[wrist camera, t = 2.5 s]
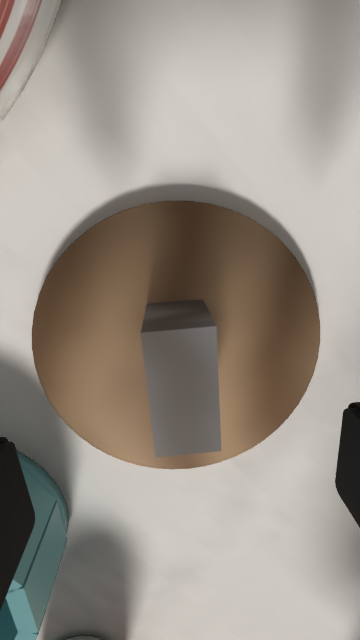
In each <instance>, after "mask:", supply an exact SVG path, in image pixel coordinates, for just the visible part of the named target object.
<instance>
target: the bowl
mask: <svg viewBox="0 0 360 640" xmlns="http://www.w3.org/2000/svg"><path fill="white" fill-rule="evenodd" d="M16 452H17V451H16ZM17 455H18V458H19V461H20V465H21V468H22V471H23V475H24V478H25V481H26V485H27V488H28V491H29V495H30V498H31V501H32V505H33V508H34V511H35V524H34V528H33V531H32V533H31V536H30V538H29V541H28V543H27V545H26V548H25V550H24V553H23V555H22V558H21V560H20V563H19V565H18V568H17V570H16V573H15V575H14V578H13V580H12V583H11V585H10V588H9V590H8V593H7V595H6V598H5V600H4V603H3V605H2V608H1V610H0V640H36V638H37V636H38V633H39V630H40V627H41V624H42V620H43V617H44V614H45V610H46V607H47V604H48V601H49V597H50V594H51V591H52V587H53V584H54V581H55V578H56V574H57V571H58V568H59V564H60V561H61V558H62V555H63V551H64V548H65V545H66V540H67V538H66V533H67V528H68V512H67V506H66V503H65V500H64V497H63V495H62V494H61V492H60V490H59V488H58V486H57V485H56V484H55V482H54V481H53V479H52V478H51V477H50V476H49V475H48V474H47V473H46V472H45V471H44V470H43V469H42V468H41V467H40V466H39V465H37V464H36V463H35V462H34V461H32V460H31V459H29V458H28V457H26V456H25V455H23V454H21V453H19V452H17Z"/></svg>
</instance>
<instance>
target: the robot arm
mask: <svg viewBox="0 0 360 640" xmlns="http://www.w3.org/2000/svg"><path fill="white" fill-rule="evenodd" d="M335 483H336V488H337V491H338V493H339V495H340V497H341V499H342V500H343V502H344V503H345V505H346V507H347V508H348V510H349V511H350V513H351V514H352V516H353V518H354V519H355V521H356V522H357V524H358V525H359V527H360V402H355V403H351V404H350V405H349V406H348V409H345V410H344V412H343V419H342V427H341V436H340V445H339V453H338V462H337V471H336V479H335ZM34 524H35V511H34V508H33V505H32V501H31V498H30V495H29V491H28V488H27V485H26V481H25V478H24V475H23V471H22V468H21V465H20V461H19V458H18V455H17V452H16V448H15V445H14V443H13V442H9V441H8V439H7V438H5V437H0V610H1V608H2V605H3V603H4V600H5V598H6V595H7V593H8V590H9V588H10V585H11V583H12V580H13V578H14V575H15V573H16V570H17V568H18V565H19V563H20V560H21V558H22V555H23V553H24V550H25V548H26V545H27V543H28V541H29V538H30V536H31V533H32V531H33V528H34Z"/></svg>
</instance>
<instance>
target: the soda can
mask: <svg viewBox="0 0 360 640" xmlns="http://www.w3.org/2000/svg"><path fill="white" fill-rule="evenodd" d="M66 640H102V639H100V638H97V637H92V636H75V637H71V638H68V639H66Z"/></svg>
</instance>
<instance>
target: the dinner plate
mask: <svg viewBox="0 0 360 640" xmlns="http://www.w3.org/2000/svg"><path fill="white" fill-rule="evenodd" d="M61 1H62V0H0V122H1V121H2V120H3V119H4V117H5V116H6V115H7V114H8V112H9V111H10V109H11V107H12V106H13V104H14V103H15V101H16V100H17V98H18V97H19V95H20V94H21V92H22V91H23V89H24V87H25V86H26V84H27V82H28V80H29V78H30V76H31V74H32V72H33V70H34V69H35V67H36V64H37V62H38V60H39V58H40V56H41V54H42V52H43V49H44V47H45V45H46V42H47V40H48V37H49V35H50V32H51V29H52V27H53V24H54V21H55V19H56V16H57V13H58V10H59V7H60V4H61Z"/></svg>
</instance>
